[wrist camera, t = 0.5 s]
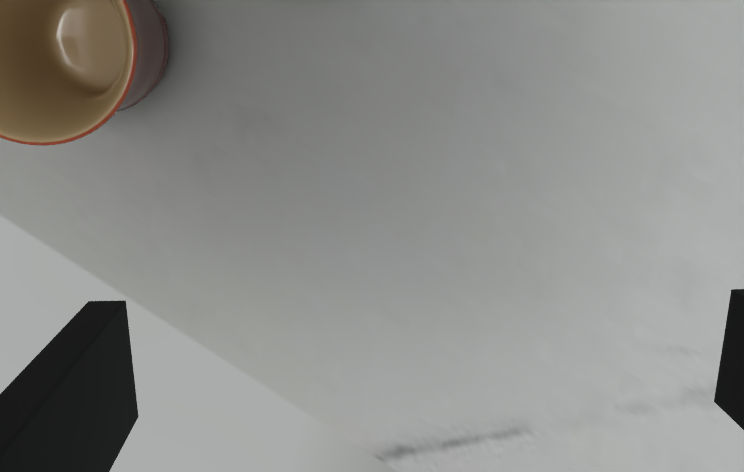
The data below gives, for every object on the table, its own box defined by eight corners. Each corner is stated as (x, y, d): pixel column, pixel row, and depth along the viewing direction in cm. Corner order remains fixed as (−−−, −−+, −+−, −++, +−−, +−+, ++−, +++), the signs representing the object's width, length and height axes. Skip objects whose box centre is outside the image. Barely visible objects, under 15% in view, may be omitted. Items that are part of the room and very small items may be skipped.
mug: (214, 7, 38) (170, -6, 28) (151, 146, 39) (88, 181, 30) (3, -107, 36) (-126, -166, 26) (-53, 46, 37) (-193, 46, 28)
